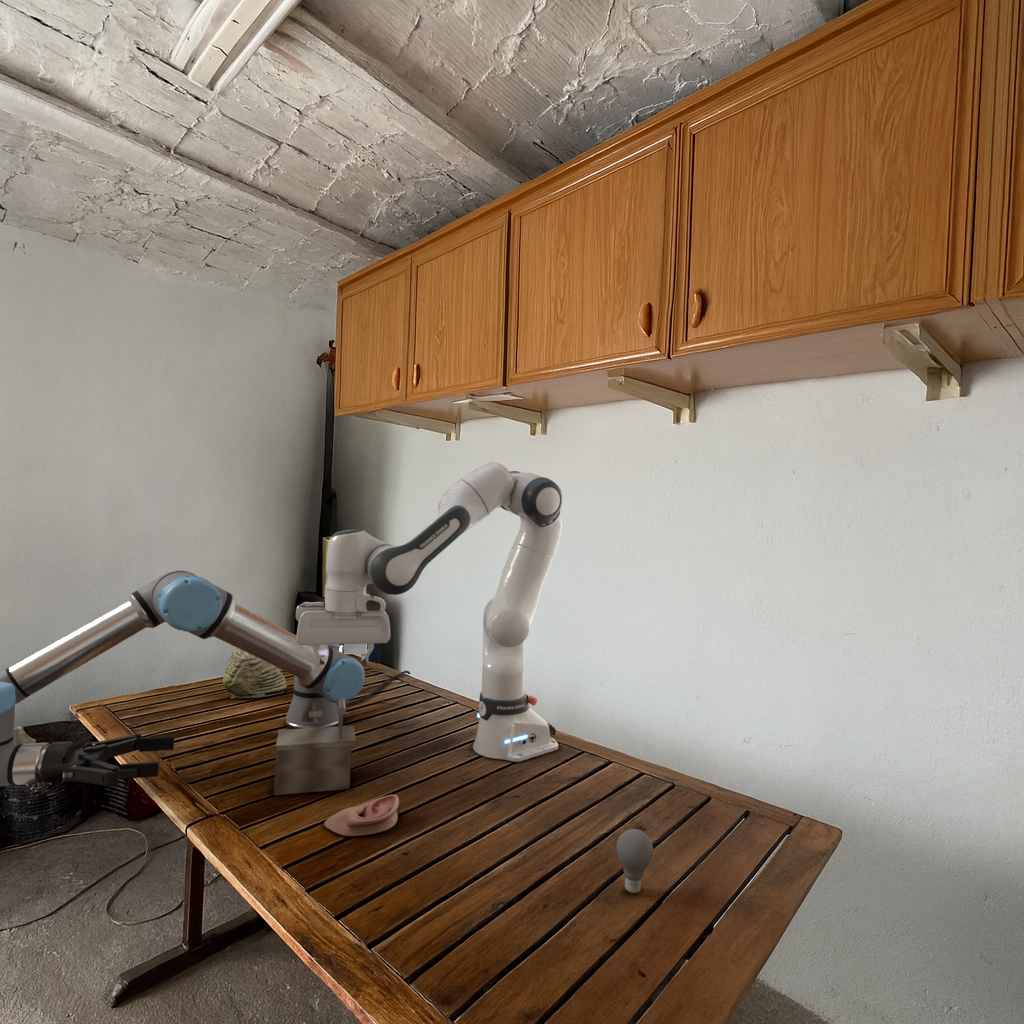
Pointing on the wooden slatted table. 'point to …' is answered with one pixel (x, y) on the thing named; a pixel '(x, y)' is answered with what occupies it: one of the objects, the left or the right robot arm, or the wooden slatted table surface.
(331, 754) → the chest
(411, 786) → the wooden slatted table surface
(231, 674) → the fossil
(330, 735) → the lid
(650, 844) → the light bulb
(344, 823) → the anatomical model
